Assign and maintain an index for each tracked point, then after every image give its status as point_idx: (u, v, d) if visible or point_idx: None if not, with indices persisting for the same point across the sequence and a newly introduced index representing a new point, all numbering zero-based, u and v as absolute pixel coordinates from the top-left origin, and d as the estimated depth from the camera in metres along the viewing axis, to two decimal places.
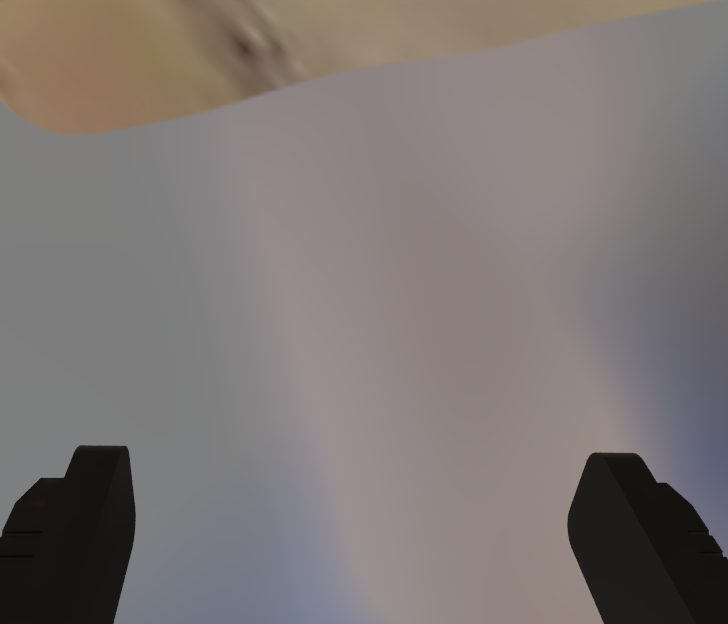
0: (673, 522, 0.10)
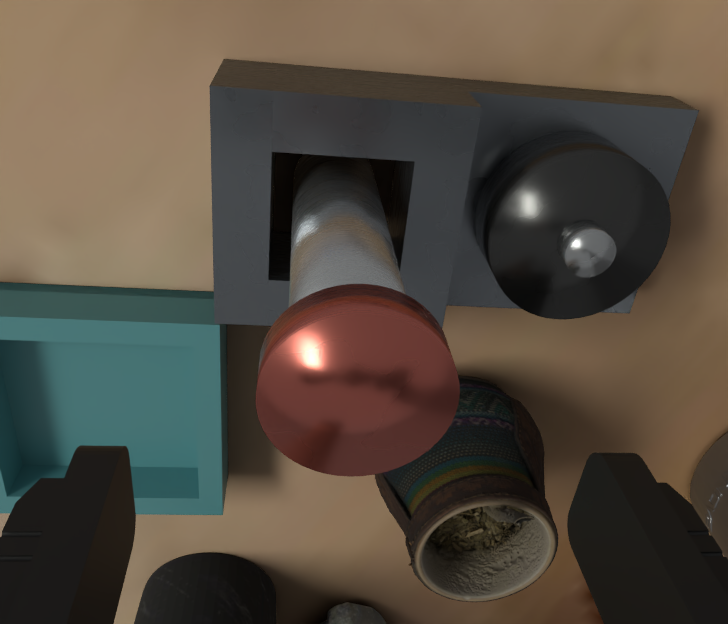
0: (673, 522, 0.10)
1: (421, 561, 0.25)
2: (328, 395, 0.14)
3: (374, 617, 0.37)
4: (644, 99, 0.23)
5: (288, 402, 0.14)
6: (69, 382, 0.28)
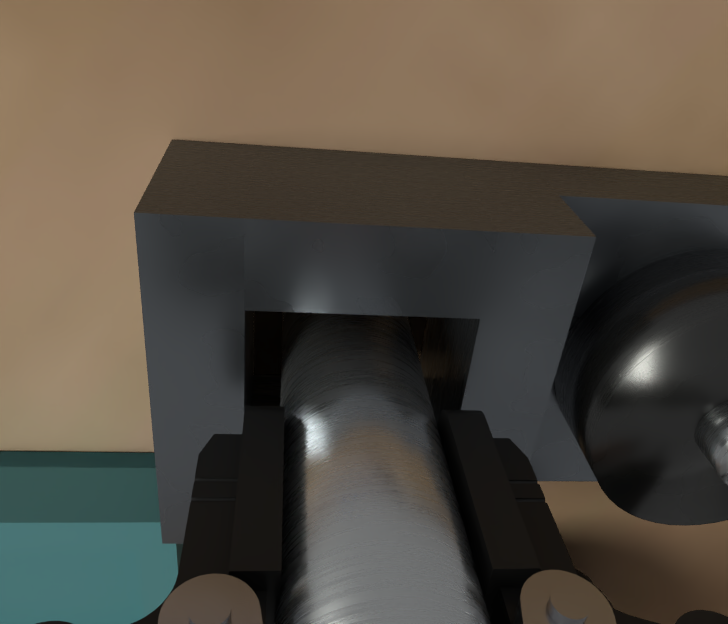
0: (496, 469, 0.11)
1: None
2: None
3: None
4: None
5: None
6: None
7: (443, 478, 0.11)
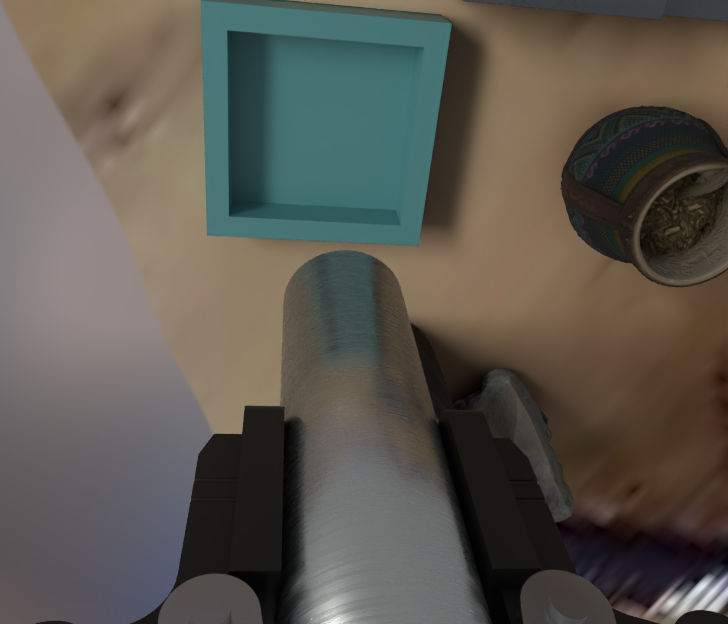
0: (496, 469, 0.11)
1: (639, 234, 0.27)
2: None
3: (524, 386, 0.40)
4: None
5: None
6: (289, 106, 0.30)
7: (444, 475, 0.11)
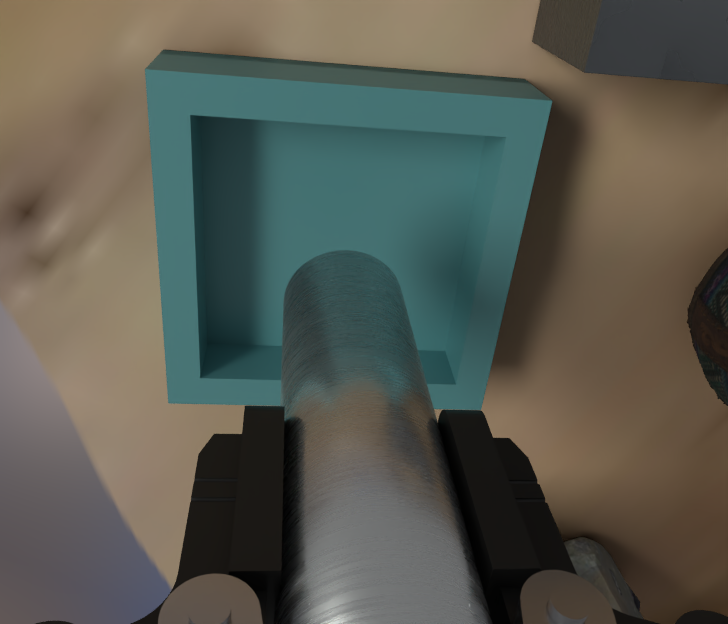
0: (496, 469, 0.11)
1: None
2: None
3: (610, 559, 0.29)
4: None
5: None
6: (291, 215, 0.20)
7: (444, 475, 0.11)
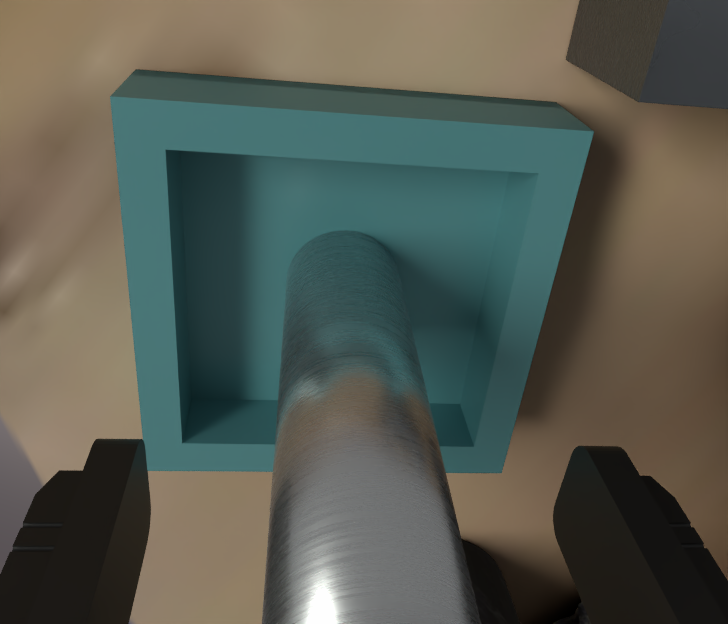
0: (655, 514, 0.10)
1: None
2: None
3: None
4: None
5: None
6: (286, 257, 0.17)
7: (426, 426, 0.12)
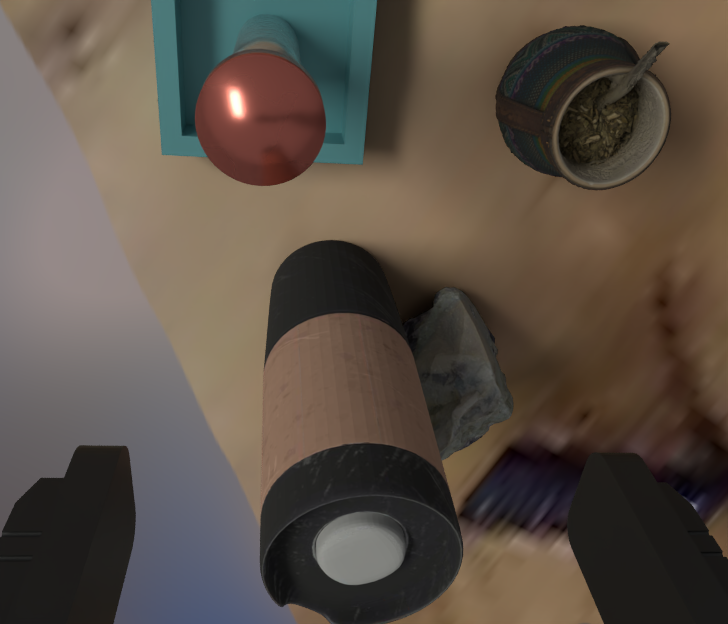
0: (673, 522, 0.10)
1: (557, 137, 0.29)
2: (241, 119, 0.22)
3: (473, 306, 0.42)
4: None
5: (216, 123, 0.22)
6: (236, 30, 0.32)
7: (293, 54, 0.27)
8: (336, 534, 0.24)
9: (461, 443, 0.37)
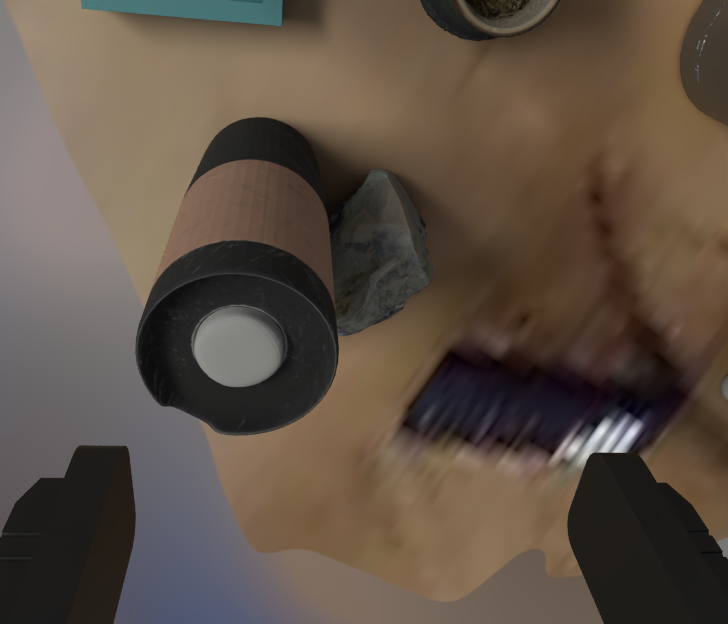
0: (673, 522, 0.10)
1: None
2: None
3: None
4: None
5: None
6: None
7: None
8: (210, 325, 0.24)
9: (379, 309, 0.37)
